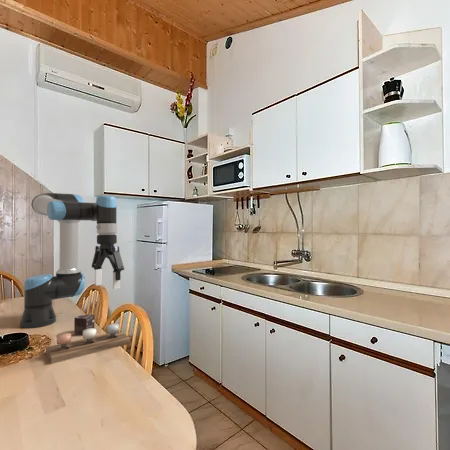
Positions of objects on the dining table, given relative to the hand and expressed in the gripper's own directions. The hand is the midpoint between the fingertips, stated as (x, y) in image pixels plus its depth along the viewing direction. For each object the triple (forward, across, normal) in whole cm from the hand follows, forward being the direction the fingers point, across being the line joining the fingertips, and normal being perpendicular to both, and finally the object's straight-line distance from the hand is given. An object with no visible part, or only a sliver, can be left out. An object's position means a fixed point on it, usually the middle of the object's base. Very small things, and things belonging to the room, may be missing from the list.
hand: (107, 286), depth 120 cm
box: (+23, -21, +1) cm, 31 cm away
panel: (+23, -3, -6) cm, 24 cm away
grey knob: (+21, -1, +2) cm, 21 cm away
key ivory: (+21, -3, -6) cm, 22 cm away
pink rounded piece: (+20, -4, -15) cm, 26 cm away
